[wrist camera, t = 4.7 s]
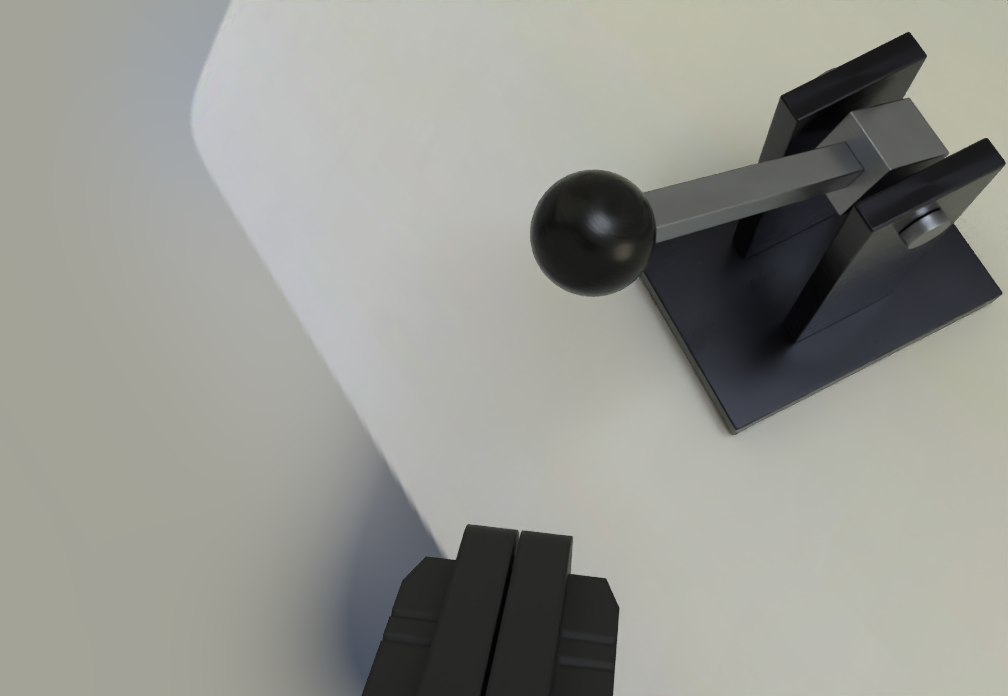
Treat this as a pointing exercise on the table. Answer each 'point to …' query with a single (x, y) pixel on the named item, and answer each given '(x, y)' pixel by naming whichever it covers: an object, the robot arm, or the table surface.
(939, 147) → the lever handle
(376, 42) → the table surface
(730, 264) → the black lever base
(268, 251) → the table surface
